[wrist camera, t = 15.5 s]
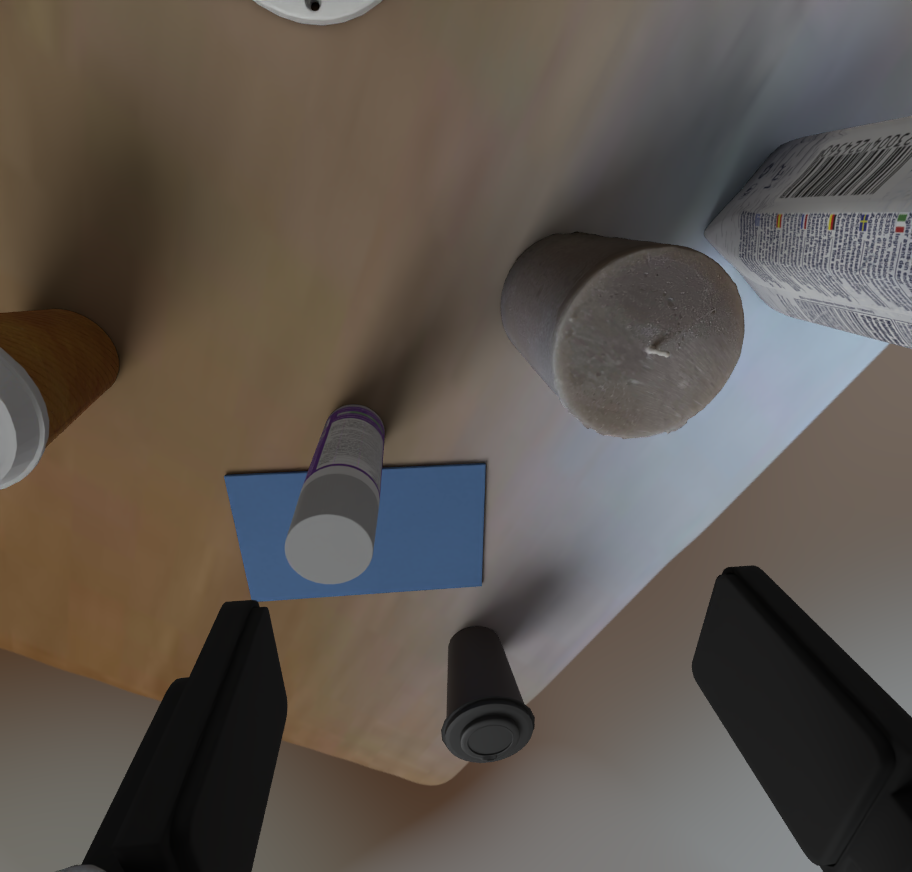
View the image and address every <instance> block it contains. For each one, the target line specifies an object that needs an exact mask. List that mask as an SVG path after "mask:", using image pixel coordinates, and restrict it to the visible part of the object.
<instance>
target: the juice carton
mask: <svg viewBox="0 0 912 872" xmlns="http://www.w3.org/2000/svg"><path fill="white" fill-rule="evenodd" d="M704 235H705V237H706V239H707V240H708V241H709V242H710V243H711V245H712V246H713V247H714V248H715V249H716V250H717V251H718V252H719V253H720V254H721V255H722V256H723V257H724V258H725V259H726V260H727V261H728V262H730V263H731V264H732V265H733V266H734V267H735V268H736V269H737V270H738V271H739V272H740V274H741V275H742V276H743V277H744V278H745V280H746V281H747V282H748V284H749V285H750V286H751V287H752V289H753V290H754V291H755V292H756V293H757V295H758V296H759V297H760V298H761V299H762V300H763V301H764V302H765V303H766V304H767V305H768V306H769V307H771V308H772V309H774V310H776V311H778V312H780V313H782V314H784V315H787V316H790V317H793V318H797V319H801V320H804V321H808V322H812V323H816V324H819V325H823V326H827V327H831V328H834V329H838V330H842V331H846V332H850V333H854V334H857V335H861V336H865V337H869V338H873V339H876V340H880V341H884V342H888V343H892V344H895V345H899V346H903V347H907V348H911V349H912V116H908V117H903V118H898V119H893V120H888V121H882V122H877V123H872V124H867V125H862V126H857V127H851V128H846V129H841V130H836V131H831V132H826V133H821V134H816V135H811V136H806V137H802V138H799V139H795V140H792V141H789V142H787V143H785V144H782V145H781V146H780V147H778V148H777V149H776V150H775V151H774V152H773V153H772V154H771V155H770V156H769V157H768V159H767V160H766V161H765V162H764V163H763V164H762V165H761V167H760V168H759V169H758V170H757V171H756V173H755V174H754V175H753V176H752V178H751V179H750V180H749V181H748V182H747V184H746V185H745V186H744V187H743V188H742V189H741V191H740V192H739V193H738V194H737V195H736V196H735V197H734V198H733V199H732V200H731V201H730V203H729V204H728V205H727V206H726V207H725V208H724V209H723V210H722V211H721V212H720V213H719V214H718V215H717V216H716V218H715V219H714V220H713V221H712V222H711V223H710V224H709V226H708V227H707V228H706V230H705V232H704Z"/></svg>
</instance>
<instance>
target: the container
mask: <svg viewBox="0 0 912 872" xmlns="http://www.w3.org/2000/svg"><path fill="white" fill-rule="evenodd" d="M384 437H385V431H384V425H383V422H382V420H381V419H380V417H379V416H378V415H377V414H376V413H375V412H374V411H373V410H371V409H369V408H367V407H365V406H362V405H354V404H352V405H345V406H342V407H340V408H338V409H336V410H335V411H334V412H333V413H332V414H331V415H330V416H329V418H328V419H327V422H326V424H325V426H324V429H323V432H322V435H321V437H320V440H319V443H318V445H317V448H316V451H315V454H314V456H313V459H312V462H311V464H310V467H309V470H308V473H307V475H306V478H305V481H304V484H303V486H302V489H301V493H300V496H299V499H298V502H297V506H296V509H295V512H294V515H293V519H292V522H291V525H290V528H289V531H288V535H287V538H286V541H285V554H286V558H287V560H288V562H289V564H290V565H291V567H292V568H293V569H294V570H295V571H296V572H297V573H298V574H299V575H301V576H302V577H304V578H306V579H308V580H310V581H313V582H316V583H321V584H339V583H344V582H347V581H350V580H352V579H354V578H356V577H357V576H359V575H360V574H362V573H363V572H364V571H365V570H366V568H367V567H368V566H369V564H370V562H371V560H372V556H373V550H374V542H375V534H376V526H377V518H378V510H379V503H380V490H381V477H382V463H383V450H384Z"/></svg>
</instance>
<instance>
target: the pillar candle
mask: <svg viewBox="0 0 912 872" xmlns="http://www.w3.org/2000/svg"><path fill="white" fill-rule="evenodd" d="M501 316H502V322H503V326H504V328H505V331H506V334H507V336H508V338H509V339H510V341H511V342H512V343H513V345H514V346H515V347H516V349H517V350H518V351H519V352H520V353H521V355H522V356H523V357H524V358H525V359H526V361H527V362H528V363H529V364H530V365H531V367H532V368H533V369H534V370H535V371H536V372H537V373H538V375H539V376H540V377H541V378H542V379H543V380H544V381H545V382H546V384H547V385H548V386H549V387H550V388H551V389H552V390H553V392H554V393H555V394H556V395H557V396H558V397H559V400H560V401H561V403H562V405H563V406H564V407H565V408H567V409H568V411H569V413H571V414H573V416H574V417H575V418H577V419H578V420H579V421H580V422H581V423H582V424H583V425H584V426H585V427H586V428H587V429H589V428H592V429H594V430H596V431H597V433H599V434H602V435H608V436H613V437H621V438H622V439H629V438H639V437H650V436H653V435H657V434H660V433H663V432H667V433H670V432H672V431H676V430H678V429H679V428H681V427H682V426H684V425H685V424H686V423H687V420H688V419H690V418H692V417H693V416H695V415H696V414H697V413H698V412H699V411H701V410H703V409H704V408H705V406H706V405H707V404H709V403H710V402H711V401H712V399H713V398H714V397H715V396H716V395H717V394H718V393H719V392H720V390H721V389H722V388H723V386H724V385H725V383H726V382H727V380H728V378H729V377H730V375H731V373H732V371H733V369H734V367H735V366H736V364H737V362H738V359H739V357H740V354H741V348H742V344H743V338H744V313H743V308H742V300H741V297H740V295H739V293H738V290H737V286H736V284H735V283H734V282H733V280H732V279H731V277H730V276H729V275H728V274H727V273H726V272H725V270H724V269H723V268H722V267H721V266H720V265H719V264H718V263H717V262H715V261H714V260H713V259H711V258H709V257H708V256H706V255H705V254H703V253H701V252H699V251H696V250H694V249H692V248H689V247H684V246H679V245H671V244H662V243H656V242H650V241H637V240H630V239H625V238H618V237H612V238H609V237H603V236H599V235H596V234H595V235H594V234H587V233H582V232H574V233H571V234H561V233H560V234H553V235H551V236H548V237H546V238H544V239H542V240H540V241H538V242H536V243H535V244H533V245H532V246H531V247H530V248H528V249H527V250H526V251H525V252H524V253H523V254H522V255H521V256H520V257H519V258H518V259H517V261H516V262H515V264H514V265H513V267H512V268H511V270H510V271H509V274H508V276H507V278H506V280H505V283H504V287H503V291H502V296H501Z"/></svg>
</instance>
